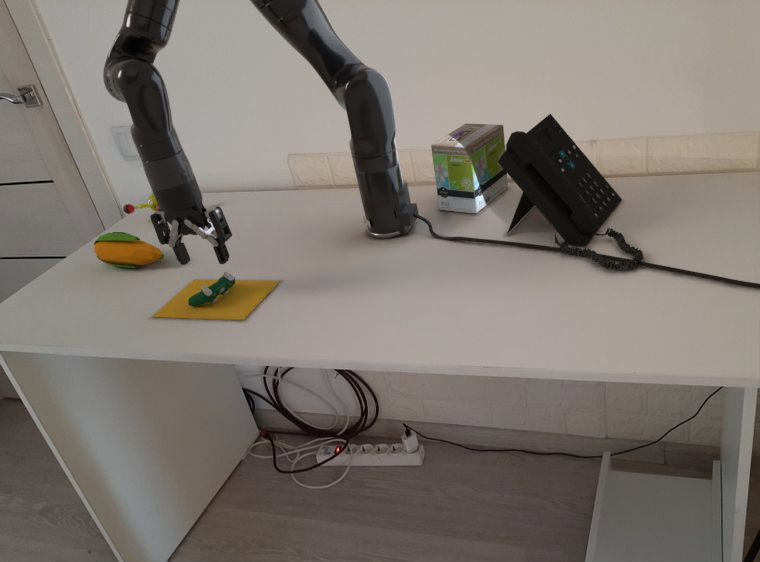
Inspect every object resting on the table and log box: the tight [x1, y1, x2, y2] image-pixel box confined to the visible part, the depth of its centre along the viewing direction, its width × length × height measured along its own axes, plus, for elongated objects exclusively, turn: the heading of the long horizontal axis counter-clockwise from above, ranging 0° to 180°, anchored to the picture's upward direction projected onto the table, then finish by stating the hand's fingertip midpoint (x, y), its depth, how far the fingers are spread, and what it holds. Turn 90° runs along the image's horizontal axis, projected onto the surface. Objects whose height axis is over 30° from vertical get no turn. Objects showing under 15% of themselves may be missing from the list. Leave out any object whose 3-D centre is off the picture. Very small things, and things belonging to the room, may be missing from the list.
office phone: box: [498, 113, 644, 271], centre depth 127 cm, size 29×28×20 cm
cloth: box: [152, 279, 280, 321], centre depth 132 cm, size 20×14×1 cm
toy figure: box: [122, 193, 160, 215], centre depth 173 cm, size 18×6×7 cm, turn 104°
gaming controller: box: [188, 271, 236, 306], centre depth 131 cm, size 9×4×6 cm
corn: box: [93, 231, 165, 269], centre depth 150 cm, size 7×8×20 cm
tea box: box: [430, 123, 509, 214], centre depth 150 cm, size 15×10×15 cm
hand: (205, 262), depth 128 cm, fingers open, 8 cm apart
